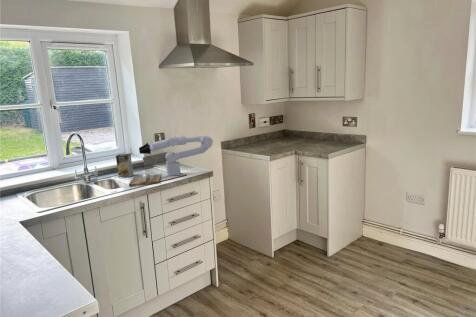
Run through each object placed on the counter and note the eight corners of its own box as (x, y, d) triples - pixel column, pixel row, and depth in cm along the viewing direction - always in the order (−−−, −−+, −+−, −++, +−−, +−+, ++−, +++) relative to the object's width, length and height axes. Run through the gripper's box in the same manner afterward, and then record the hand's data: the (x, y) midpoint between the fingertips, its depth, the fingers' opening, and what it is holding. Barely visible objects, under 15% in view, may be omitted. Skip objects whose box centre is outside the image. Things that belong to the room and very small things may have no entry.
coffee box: (118, 177, 256) (114, 155, 253) (121, 175, 263) (118, 154, 259) (130, 176, 255) (127, 155, 252) (133, 174, 262) (130, 153, 258)
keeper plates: (150, 175, 249) (150, 175, 249) (149, 179, 238) (148, 179, 238) (144, 176, 249) (144, 175, 248) (142, 180, 237) (142, 179, 237)
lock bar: (144, 177, 240) (143, 174, 240) (148, 177, 241) (147, 174, 240) (142, 181, 230) (142, 178, 230) (146, 181, 230) (146, 177, 230)
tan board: (161, 175, 252) (161, 173, 252) (158, 183, 231) (158, 181, 231) (133, 178, 250) (133, 176, 250) (129, 186, 229) (128, 184, 228)
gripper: (156, 137, 251) (137, 143, 248) (158, 142, 237) (137, 148, 234) (159, 147, 253) (140, 152, 250) (161, 152, 240) (141, 157, 237)
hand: (139, 150), depth 242 cm, fingers open, 7 cm apart
